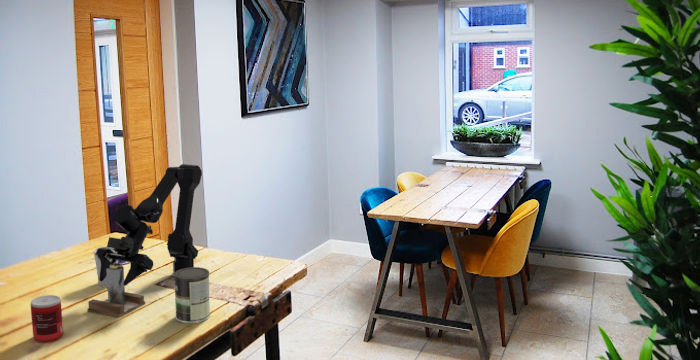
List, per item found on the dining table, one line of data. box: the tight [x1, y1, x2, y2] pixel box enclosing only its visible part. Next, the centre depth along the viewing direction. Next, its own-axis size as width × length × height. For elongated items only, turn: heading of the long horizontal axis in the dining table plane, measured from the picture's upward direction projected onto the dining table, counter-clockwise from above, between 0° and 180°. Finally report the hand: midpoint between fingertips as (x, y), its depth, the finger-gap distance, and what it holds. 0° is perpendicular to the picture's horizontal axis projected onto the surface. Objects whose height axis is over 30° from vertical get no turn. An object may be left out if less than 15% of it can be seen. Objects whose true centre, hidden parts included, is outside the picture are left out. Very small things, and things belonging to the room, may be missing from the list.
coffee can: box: [173, 266, 211, 324], centre depth 201 cm, size 10×10×14 cm
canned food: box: [30, 294, 64, 344], centre depth 185 cm, size 8×8×11 cm
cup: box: [93, 246, 118, 288], centre depth 227 cm, size 8×8×12 cm
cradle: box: [87, 291, 146, 318], centre depth 208 cm, size 12×12×3 cm
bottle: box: [106, 263, 126, 305], centre depth 207 cm, size 5×5×13 cm
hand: (112, 282), depth 205 cm, fingers open, 9 cm apart
